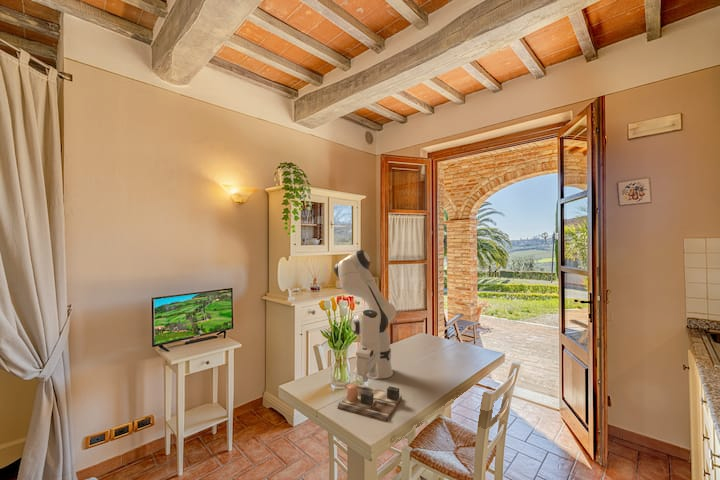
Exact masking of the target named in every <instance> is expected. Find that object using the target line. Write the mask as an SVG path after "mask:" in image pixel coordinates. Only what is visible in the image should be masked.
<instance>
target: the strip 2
mask: <svg viewBox="0 0 720 480" xmlns="http://www.w3.org/2000/svg"><path fill="white" fill-rule="evenodd" d="M386 391H387V393H386V392H382V391H377V390H373V391H372V393H373V399H377V400H381V401H385V402H389V403H393V404H395V405H396V404H397V403H398V401H399V400H400V398H401V396H399V394H400V388H399V387H395V386H391V385H390V386H388V387H387V388H386Z"/></svg>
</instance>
